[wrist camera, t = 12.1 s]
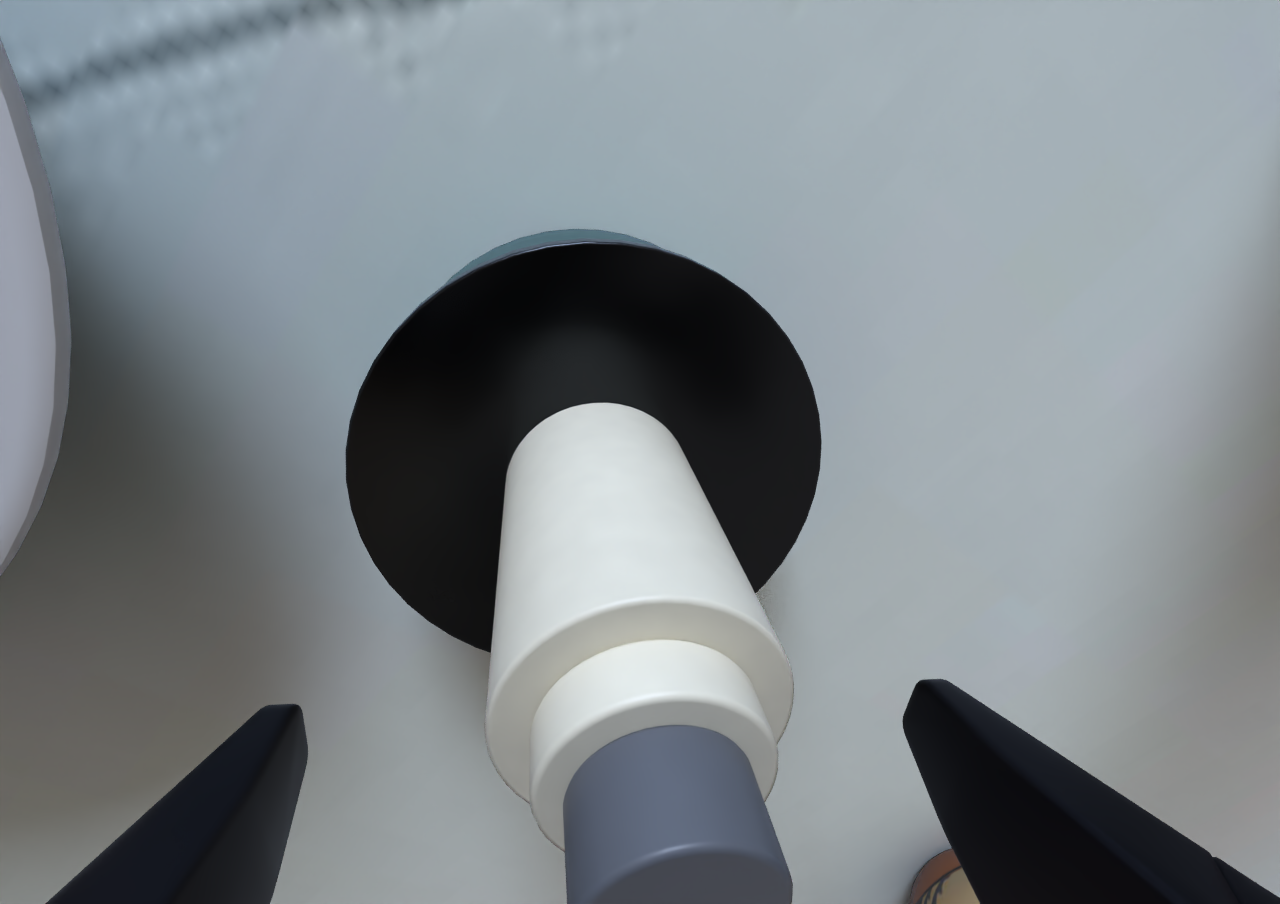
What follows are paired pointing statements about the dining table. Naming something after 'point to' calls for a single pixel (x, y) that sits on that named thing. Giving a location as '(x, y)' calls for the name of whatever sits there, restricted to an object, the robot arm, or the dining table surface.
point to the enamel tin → (562, 378)
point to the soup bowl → (28, 322)
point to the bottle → (634, 670)
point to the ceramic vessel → (942, 882)
